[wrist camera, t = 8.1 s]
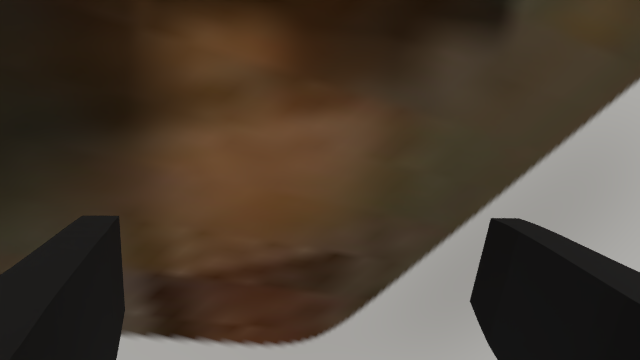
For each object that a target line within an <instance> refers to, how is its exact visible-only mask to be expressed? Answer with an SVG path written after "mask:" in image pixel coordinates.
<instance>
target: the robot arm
mask: <svg viewBox="0 0 640 360" xmlns="http://www.w3.org/2000/svg"><path fill="white" fill-rule="evenodd" d="M470 302H471V305H472V307H473V310H474V312H475V315H476V317H477V320H478V322H479V325H480V327H481V329H482V331H483V334H484V335H485V338H486V340H487V342H488V344H489V346H490V348H491V349H492V351H493V353H494V355H495V356H496V358H497V359H498V360H640V272H638V271H636V270H633V269H631V268H629V267H627V266H624V265H623V264H620V263H618V262H616V261H614V260H612V259H610V258H608V257H606V256H603V255H601V254H599V253H597V252H595V251H593V250H591V249H589V248H587V247H584V246H582V245H580V244H578V243H576V242H574V241H572V240H570V239H568V238H565V237H563V236H561V235H559V234H557V233H554V232H552V231H550V230H548V229H545V228H543V227H541V226H538V225H536V224H533V223H530V222H528V221H525V220H522V219H516V218H514V219H512V218H502V219H501V218H491V220H490V224H489V228H488V232H487V236H486V240H485V244H484V248H483V252H482V256H481V259H480V263H479V268H478V271H477V276H476V280H475V283H474V287H473V291H472V295H471V299H470ZM124 312H125V304H124V288H123V272H122V256H121V240H120V224H119V216H82V217H80V218H78V219H77V220H75V221H74V222H73V223H71V224H70V225H68V226H67V227H66V228H64V229H63V230H62V231H60V232H59V233H58V234H56V235H55V236H54V237H52V238H51V239H50V240H48V241H47V242H46V243H44V244H43V245H42V246H40V247H39V248H38V249H36V250H35V251H33V252H32V253H31V254H29V255H28V256H27V257H25V258H24V259H22V260H21V261H20V262H18V263H17V264H16V265H14V266H13V267H11V268H10V269H9V270H7V271H6V272H4V273H3V274H1V275H0V360H116V358H117V352H118V347H119V341H120V336H121V330H122V324H123V318H124Z"/></svg>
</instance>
